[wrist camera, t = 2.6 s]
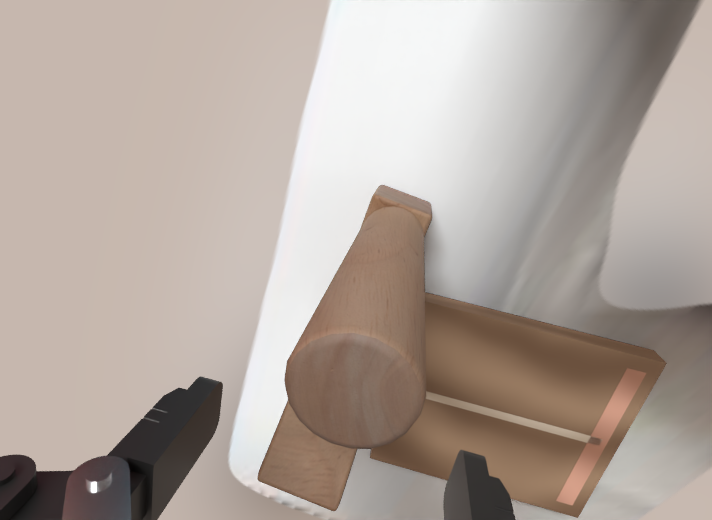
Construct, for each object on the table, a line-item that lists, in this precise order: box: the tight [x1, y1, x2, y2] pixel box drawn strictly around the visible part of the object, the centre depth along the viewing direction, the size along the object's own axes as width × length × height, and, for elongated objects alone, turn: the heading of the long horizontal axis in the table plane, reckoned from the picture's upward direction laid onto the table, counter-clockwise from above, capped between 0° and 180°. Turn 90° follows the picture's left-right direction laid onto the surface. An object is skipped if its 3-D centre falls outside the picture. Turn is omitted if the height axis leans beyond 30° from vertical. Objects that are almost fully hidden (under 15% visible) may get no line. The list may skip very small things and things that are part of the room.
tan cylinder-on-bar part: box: [258, 185, 432, 511], centre depth 19 cm, size 4×11×18 cm, turn 161°
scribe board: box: [370, 292, 667, 518], centre depth 29 cm, size 14×16×2 cm
